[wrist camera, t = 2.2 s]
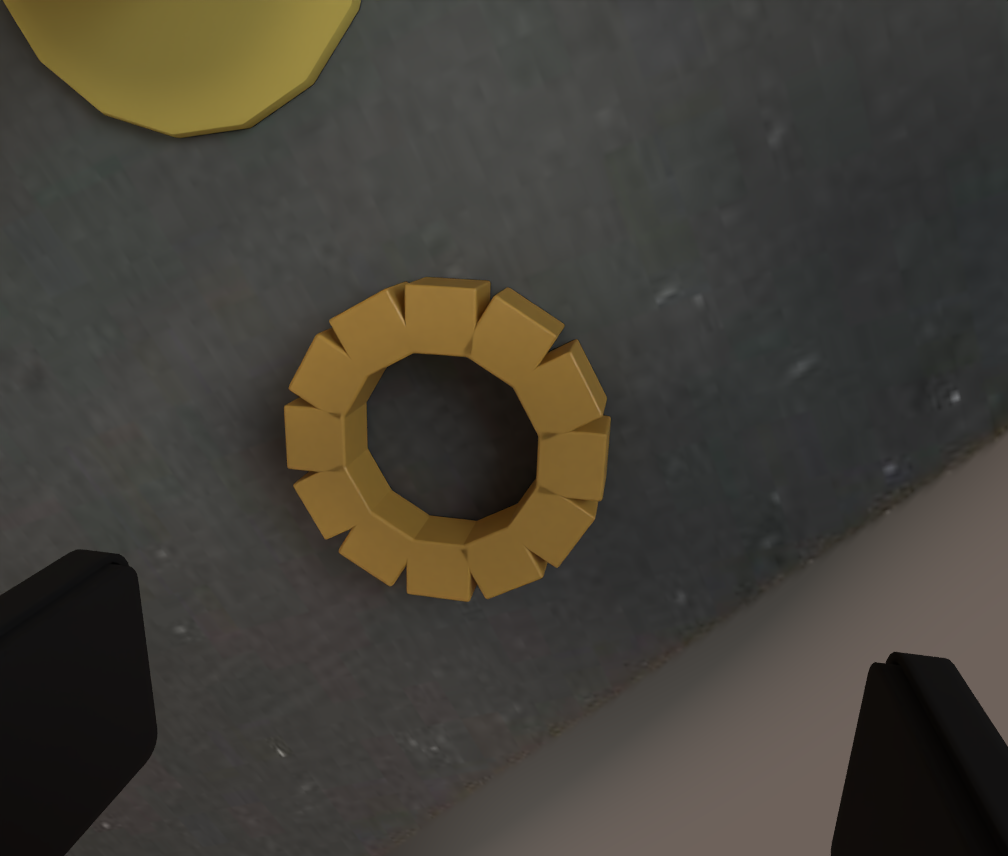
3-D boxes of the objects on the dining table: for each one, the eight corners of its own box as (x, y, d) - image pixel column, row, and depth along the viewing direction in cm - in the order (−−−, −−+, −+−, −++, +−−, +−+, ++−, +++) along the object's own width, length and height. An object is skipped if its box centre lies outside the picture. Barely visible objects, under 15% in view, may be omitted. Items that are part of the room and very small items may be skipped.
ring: (673, 396, 18) (675, 414, 17) (502, 622, 21) (491, 655, 20) (399, 214, 18) (376, 215, 17) (264, 465, 21) (235, 486, 19)
